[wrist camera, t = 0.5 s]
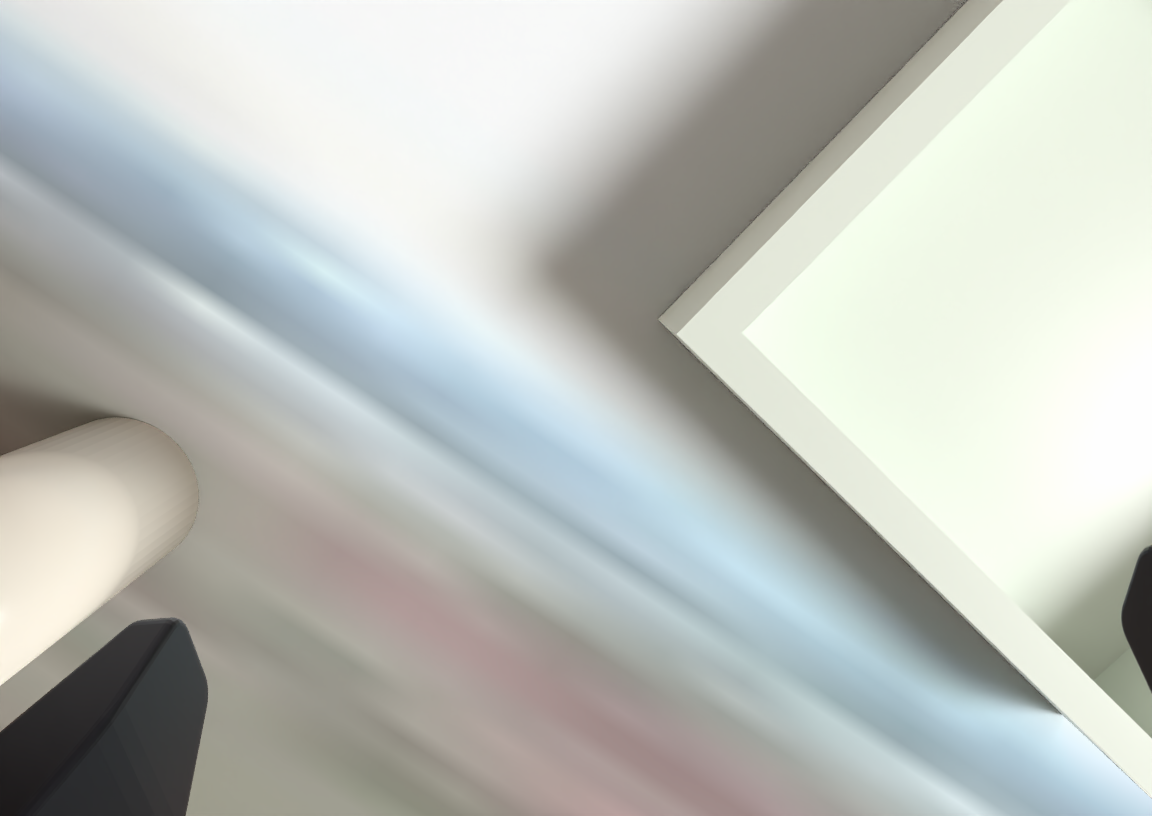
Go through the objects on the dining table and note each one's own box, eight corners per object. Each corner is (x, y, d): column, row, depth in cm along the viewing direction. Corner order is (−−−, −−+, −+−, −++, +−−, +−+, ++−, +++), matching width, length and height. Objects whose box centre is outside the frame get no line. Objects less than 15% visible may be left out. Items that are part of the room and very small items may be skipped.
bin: (1063, 716, 26) (1153, 800, 22) (657, 319, 24) (676, 334, 20) (1527, 300, 24) (1714, 311, 20) (1130, -168, 22) (1254, -257, 18)
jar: (133, 593, 25) (-143, 819, 15) (14, 494, 25) (-352, 662, 15) (230, 489, 25) (9, 652, 15) (110, 385, 24) (-201, 483, 14)
